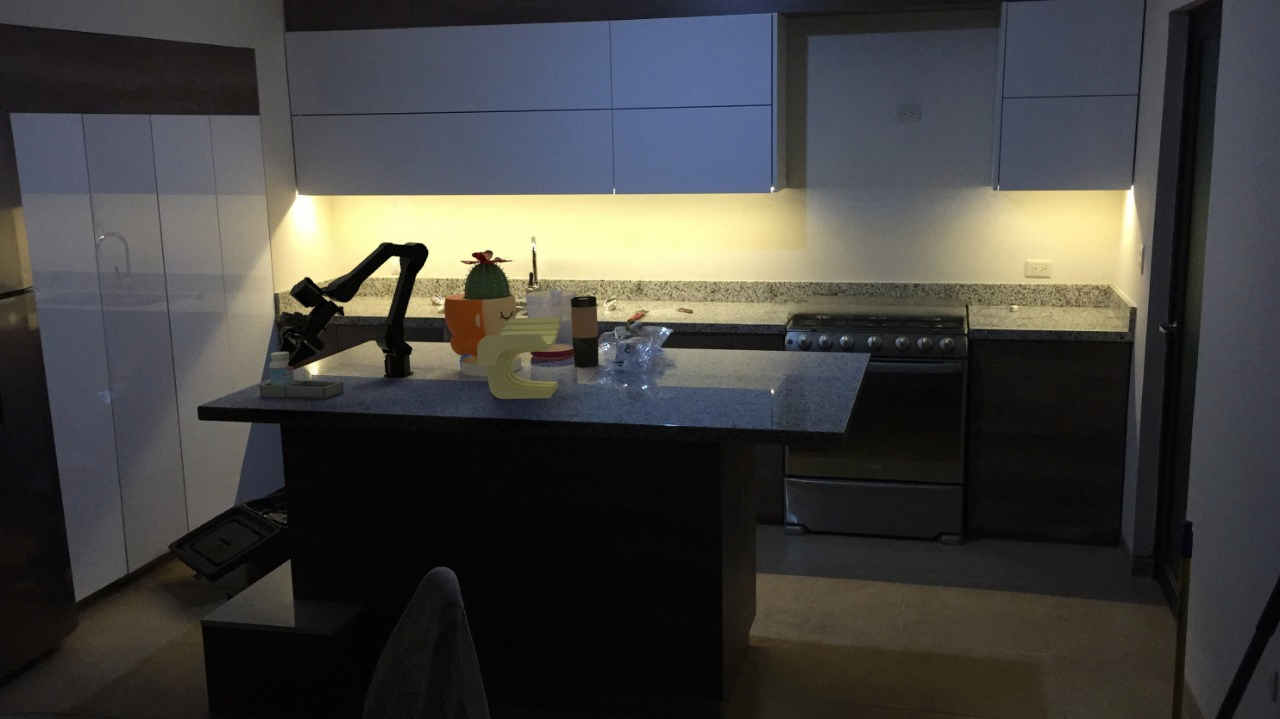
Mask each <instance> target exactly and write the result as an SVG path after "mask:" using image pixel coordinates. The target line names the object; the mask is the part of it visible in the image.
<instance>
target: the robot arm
mask: <svg viewBox="0 0 1280 719" xmlns="http://www.w3.org/2000/svg"><path fill="white" fill-rule="evenodd" d="M429 254H430V253H429V249H428V246H427V245H425V244H424V243H422V242H414V241H413V242H412V241H409V242H405V243H403V244H402V243H401V244H400V243H394V242H387V241H383V242H381V243H379V245H378V246H377V247H376V248H375V249H374V250H373V251H372V252H371V253H370V254H369V255H368V256H366V257H365V258H364V259H363V260H362V261H360V263H358V264H357V265H356V266H355V267H353V268H352V269H351V271H349V272H348V273H346V274H344V275H340V276H338V277H337V278H336V279H334V280H333V281H331V282H330V283H329V284H327V286H323V287H319V286H318V285H317V284H316V282H314V281H313V279H312V278H311V277H310V276H305V277H304V278H303V279H301V280H300V281H298V282H297V283H296V284H294V285H293V286H292V288H291V289H290V291H289V295H290V296H291V297H292V298H294V300H296V301H297V302H298V303H299V304H300V305H302V307H304V308H305V309H308V308H312V309H311V311H310V312H309V313H308V314H303V312H300V311H294V312H293V313H291V312H288V311H281V315H280V318H279V321H278V323H279V324H284V325H287V326H283V327H282V328H281V330H279V331H278V333H279V337H280V340H281V343H280V346H279V348H278V351H277V352H289V356H291V357H290V358H289V359H288V360H289V362H288V366H290V367H292V366H293V367H294V366H295V365H298V364H299V363H301V362H303V361H304V360H307V359H309V358H311V357H313V356H315V355H318V353H320V354H321V353H322V352H323V351H324V350H325V348H326V343H325V342H324V341H323V340H322V339H321V338H320V337H319V336H320V335H321V333H322V332H324V333H325V332H326V331H328V328H327V326H328V325H329V324H330V322H331V321H332V319H333V318H334V317H335V316H336V315H337V316H338V317H345V311H344V310H345V309H344V308H345V307H344V306H342V305H337V304H336V303H343V304H345V303H349V302H350V301H352V300H353V298H354V297H355V296H356V295H357V294H358V292H359V290H360V288H361V285H362V284H363V283H364V282H365V281H366V280H367V279H369V277H370V276H372V275H373V274H374V273H375V272H376V271H377V270H378V269H380V268H381V267H382V266H383V265H384V264H385V263H386V262H388V260H389V259H391V258H392V257H395V258H397V257H398V258H399V259H398V260H399V268H400V272H399V275H398V279H397V282H396V286H395V289H394V293H393V296H392V301H391V303H390V307H389V309H388V310H389V311H388V314H387V317H386V319H385V320H384V321H383V322H382V321H381V322H380V321H378V323H377V328H376V331H375V333H374V334H373V335H374V336H375V343H376V345H377V346H378V347H379V349H381V351H382V353H383V355H384V358H385V359H384V360H383V361H384V362H383V364H384V374H383V377H384V378H385V377H386V378H387V377H389V378H404V377H408V376H410V375H413V374H414V371H411V358H410V356H412V351H413V347H412V346H411V345H410V344H409V343H408V342H406V341H405V336H406V334H405V333H406V331H405V324H404V323H405V322H404V321H405V319H406V314H407V312H408V307H409V304H410V300H411V298H412V293H413V289H414V286H415V282H416V278H417V276H418V275H419V273H420V271H421V270H422V269H423V267H424V266H425V264H426V262H427V259H428V257H429ZM325 297H326V298H329V300H327V299H326V298H325ZM335 302H336V303H335Z"/></svg>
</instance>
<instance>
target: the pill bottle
mask: <svg viewBox="0 0 1280 719" xmlns="http://www.w3.org/2000/svg"><path fill="white" fill-rule="evenodd" d="M270 356H271V357H270V359H271V360H272V361H271V362H270V363H269V365H268V367H269V378H270V380H269V381H270V382H271V386H287V385H290V384H294V380H295V377H294V376H295V375H294V373H295V372H294V365H293V366H292V367H290V366H288V362H289V360H290V355H289V352H278V351H275V352H271V354H270Z"/></svg>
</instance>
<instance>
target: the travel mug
mask: <svg viewBox="0 0 1280 719" xmlns="http://www.w3.org/2000/svg"><path fill="white" fill-rule="evenodd" d="M570 309H571V310H570V312H571V316H570V318H571V336H572V338H571V340H572V351H573V363H574V364H573V365H574V366H575V367H577V368H593V367H597V366H598V365H599V325H598V322H599V321H598V310H597V309H598V306H597V297H596V296H593V295H586V296H585V295H583V296H574V297H572V298H570Z"/></svg>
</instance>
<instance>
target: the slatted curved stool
mask: <svg viewBox="0 0 1280 719" xmlns="http://www.w3.org/2000/svg"><path fill="white" fill-rule="evenodd" d="M561 327H562V325H561V317H560V316H548V317H545V316H544V317H541V316H540V317H516V318H513V319H510V320H508V321H507V322H506V323H505V324H504V325H503V327H502V330H501V332H500V335H488V336H485V337H484V338H482V339H481V340H480V342H479V344H478V347H477V354H478V366H481V365H486V367H487V374H488V376H487V378H488V379H487V380H488V387H489V390H490V393H492V395H493V396H494V397H495V398H497V399H500V400H508V399H509V400H510V399H511V400H513V399H514V400H516V399H518V400H520V399H522V400H523V399H551V398H552V396H553V395H554V394H555V392H556V391H557V390H558V389H559V386H558V385H559V384H558V381H546V380H545V381H543V380H542V381H538V380H529V379H526V378H521V377H519V376H518V375H517V374H516V373H515V371H514V372H513V361H514V357H515V355H517V354H520V355H521V354H524V353H533V352H548V351H549V350H550V349H551V348H552V347H553V346H554V345H555V344H557V339H558V338H559V337H558V336H559V335H558V334H559V333H560V329H561Z"/></svg>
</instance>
